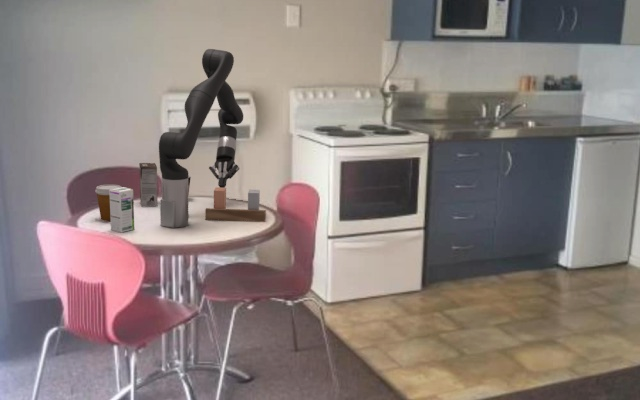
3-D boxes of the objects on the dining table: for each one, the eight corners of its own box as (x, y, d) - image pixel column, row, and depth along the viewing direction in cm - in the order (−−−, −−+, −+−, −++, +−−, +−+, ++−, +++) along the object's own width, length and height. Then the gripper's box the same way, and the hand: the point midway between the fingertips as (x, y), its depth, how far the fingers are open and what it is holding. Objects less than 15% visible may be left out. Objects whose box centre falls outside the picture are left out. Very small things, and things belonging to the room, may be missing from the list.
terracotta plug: (215, 212, 260) (215, 187, 258) (225, 212, 261) (226, 187, 258) (213, 216, 255) (213, 190, 252) (224, 216, 255) (224, 191, 252)
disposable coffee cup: (126, 216, 251) (125, 184, 248) (118, 222, 241) (117, 190, 239) (101, 215, 251) (100, 183, 248) (92, 221, 242) (91, 189, 239)
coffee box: (139, 201, 274) (139, 162, 271) (156, 201, 276) (155, 162, 273) (141, 207, 266) (140, 166, 262) (157, 206, 268) (157, 166, 264)
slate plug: (248, 214, 259) (249, 189, 257) (259, 215, 259) (259, 189, 257) (247, 218, 253) (248, 192, 251) (258, 219, 253) (258, 193, 251)
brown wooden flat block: (209, 212, 262) (209, 202, 261) (266, 213, 263) (266, 204, 262) (205, 219, 250) (205, 209, 249) (264, 221, 251) (264, 211, 250)
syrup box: (121, 232, 229) (120, 191, 226) (110, 229, 232) (108, 188, 229) (134, 229, 234) (133, 188, 230) (123, 226, 237) (122, 186, 234)
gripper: (208, 146, 275) (202, 184, 268) (238, 144, 272) (234, 182, 265) (214, 155, 282) (209, 192, 274) (244, 153, 279) (240, 190, 271)
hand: (221, 187), depth 270 cm, fingers closed
